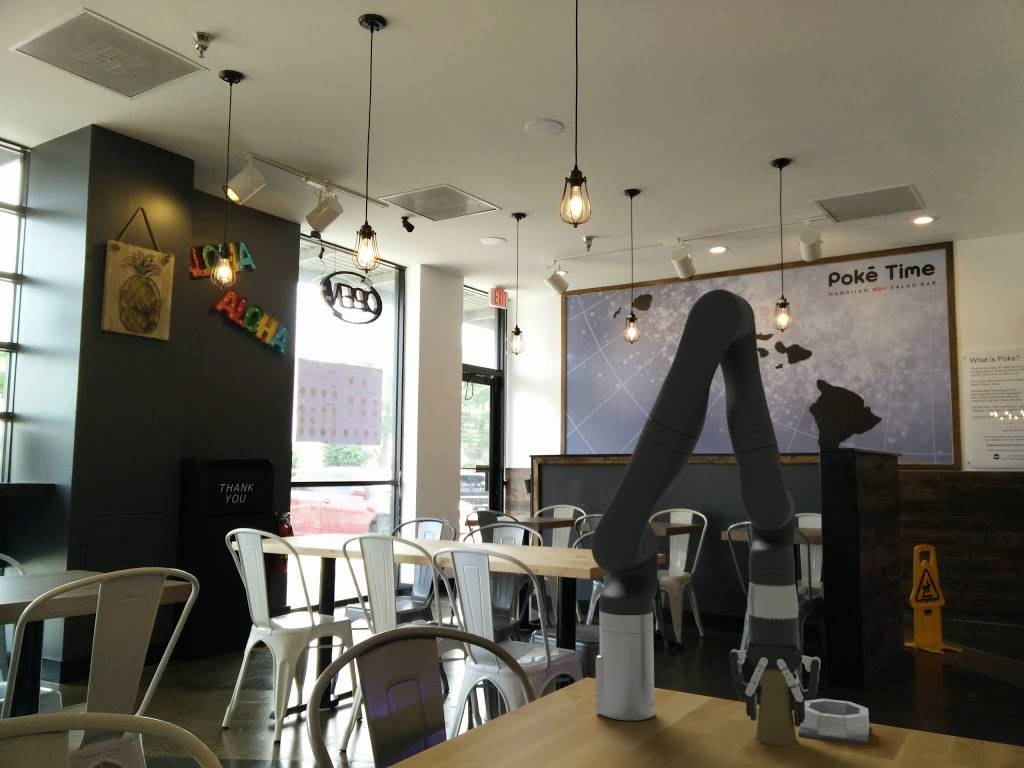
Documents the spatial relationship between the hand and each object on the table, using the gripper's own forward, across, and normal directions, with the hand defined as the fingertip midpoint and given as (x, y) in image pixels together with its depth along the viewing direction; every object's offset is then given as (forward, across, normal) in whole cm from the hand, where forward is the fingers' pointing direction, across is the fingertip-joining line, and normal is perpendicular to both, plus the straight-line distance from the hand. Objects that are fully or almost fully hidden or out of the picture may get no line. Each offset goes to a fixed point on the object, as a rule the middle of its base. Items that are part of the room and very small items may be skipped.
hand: (775, 721), depth 132 cm
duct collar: (+3, +8, +8) cm, 12 cm away
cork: (+3, 0, 0) cm, 3 cm away
